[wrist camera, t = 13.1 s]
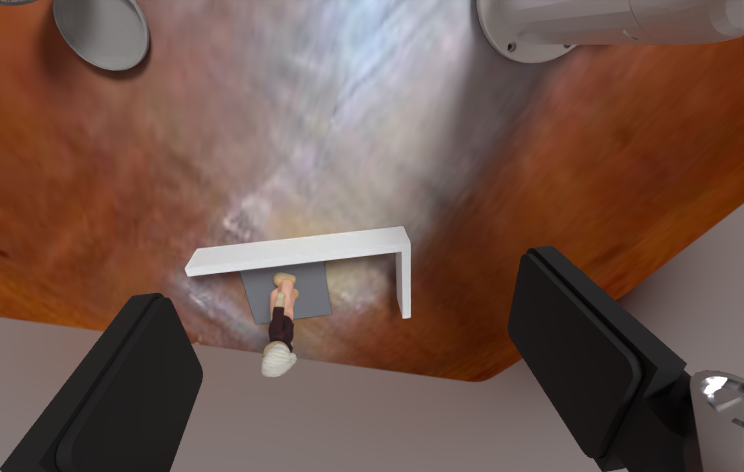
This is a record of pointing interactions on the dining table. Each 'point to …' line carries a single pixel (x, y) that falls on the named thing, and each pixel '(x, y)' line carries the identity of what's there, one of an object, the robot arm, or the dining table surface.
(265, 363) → the grandmother figurine
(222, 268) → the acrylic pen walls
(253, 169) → the dining table surface
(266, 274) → the slate mat
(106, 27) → the pocket watch
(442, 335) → the dining table surface
